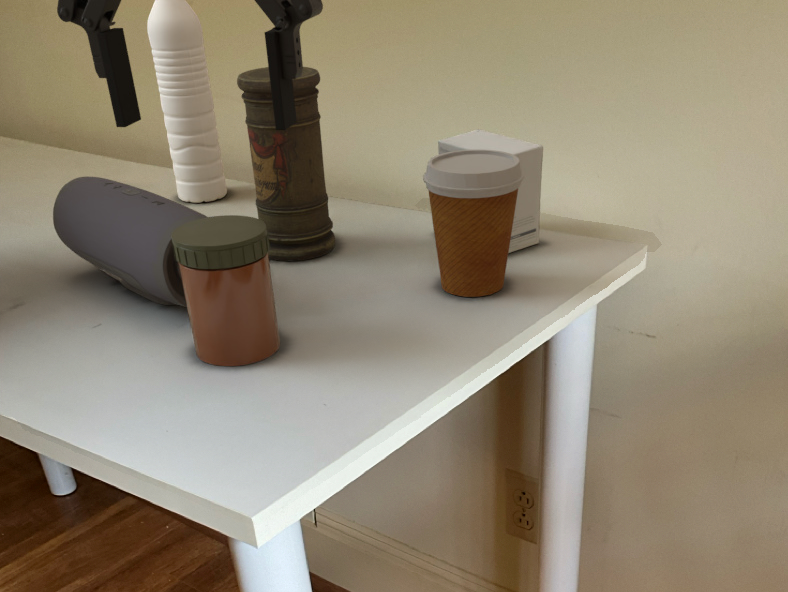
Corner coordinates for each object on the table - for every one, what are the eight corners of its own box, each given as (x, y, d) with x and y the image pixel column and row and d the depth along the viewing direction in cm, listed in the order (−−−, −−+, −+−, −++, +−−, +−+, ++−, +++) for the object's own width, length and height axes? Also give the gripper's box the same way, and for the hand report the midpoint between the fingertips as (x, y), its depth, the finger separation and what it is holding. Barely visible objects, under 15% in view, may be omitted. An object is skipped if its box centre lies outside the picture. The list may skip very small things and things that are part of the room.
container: (310, 229, 106) (293, 61, 95) (351, 248, 100) (338, 71, 89) (243, 247, 102) (217, 73, 91) (282, 267, 96) (259, 84, 85)
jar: (181, 362, 78) (157, 249, 72) (217, 327, 84) (198, 219, 78) (261, 369, 76) (243, 253, 70) (292, 333, 82) (278, 223, 76)
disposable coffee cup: (495, 310, 85) (499, 179, 77) (408, 294, 88) (404, 169, 81) (534, 276, 91) (540, 153, 84) (451, 263, 95) (450, 144, 88)
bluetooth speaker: (252, 305, 88) (237, 202, 82) (171, 334, 83) (148, 227, 77) (138, 253, 101) (118, 161, 95) (62, 276, 97) (36, 180, 91)
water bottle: (178, 205, 116) (136, -20, 101) (178, 191, 121) (138, -24, 106) (245, 199, 117) (213, -24, 102) (242, 185, 122) (211, -29, 107)
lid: (158, 266, 73) (153, 243, 72) (200, 234, 79) (196, 213, 78) (247, 272, 71) (244, 248, 70) (283, 239, 77) (281, 216, 76)
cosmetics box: (437, 234, 103) (435, 138, 96) (479, 222, 106) (480, 127, 99) (497, 257, 96) (500, 155, 89) (541, 243, 99) (546, 143, 92)
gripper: (-56, -226, 56) (40, 133, 69) (313, -255, 51) (342, 139, 64) (12, -218, 62) (89, 111, 75) (350, -244, 57) (370, 116, 70)
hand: (206, 125), depth 70 cm, fingers open, 13 cm apart
